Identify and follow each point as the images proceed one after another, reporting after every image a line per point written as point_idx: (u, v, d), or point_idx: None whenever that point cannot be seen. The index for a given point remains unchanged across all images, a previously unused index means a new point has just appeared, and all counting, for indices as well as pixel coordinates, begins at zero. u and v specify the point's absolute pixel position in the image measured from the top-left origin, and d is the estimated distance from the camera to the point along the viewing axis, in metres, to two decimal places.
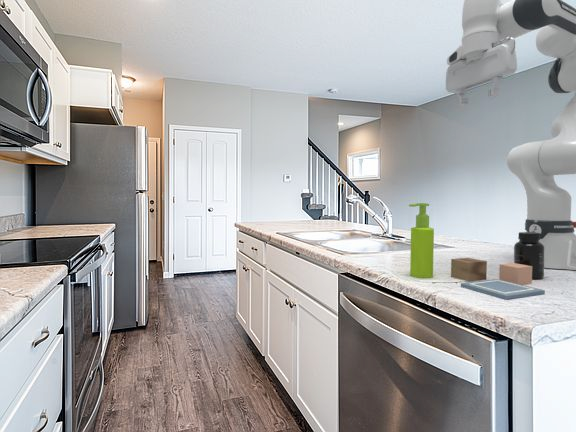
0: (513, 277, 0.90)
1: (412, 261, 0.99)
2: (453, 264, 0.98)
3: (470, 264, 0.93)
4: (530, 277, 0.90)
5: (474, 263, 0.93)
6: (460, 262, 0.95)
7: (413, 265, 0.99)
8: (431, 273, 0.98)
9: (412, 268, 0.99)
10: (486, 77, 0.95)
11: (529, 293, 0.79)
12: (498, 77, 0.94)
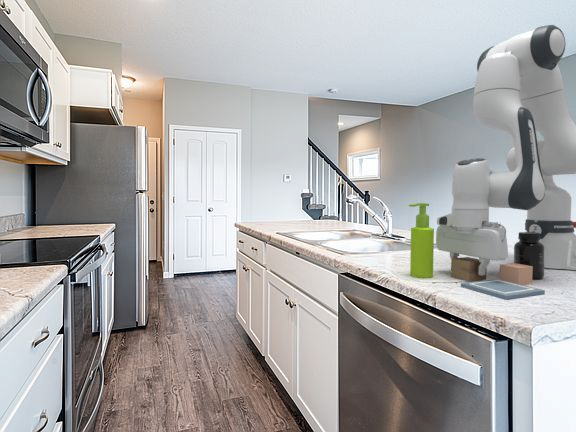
0: (514, 277, 0.90)
1: (412, 261, 0.99)
2: (453, 264, 0.98)
3: (470, 263, 0.93)
4: (530, 277, 0.90)
5: (474, 262, 0.93)
6: (460, 261, 0.95)
7: (413, 265, 0.99)
8: (431, 273, 0.98)
9: (412, 268, 0.99)
10: (476, 256, 0.92)
11: (529, 293, 0.79)
12: (485, 259, 0.91)
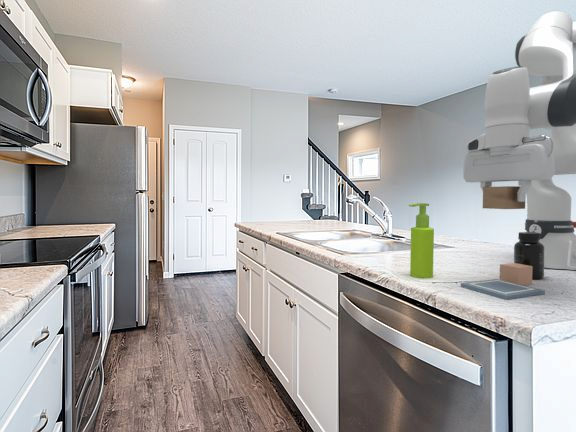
0: (514, 277, 0.90)
1: (412, 261, 0.99)
2: (485, 192, 0.84)
3: (507, 188, 0.80)
4: (530, 277, 0.90)
5: (512, 187, 0.80)
6: (494, 188, 0.82)
7: (413, 265, 0.99)
8: (431, 273, 0.98)
9: (412, 268, 0.99)
10: (515, 178, 0.79)
11: (529, 293, 0.79)
12: (526, 181, 0.78)
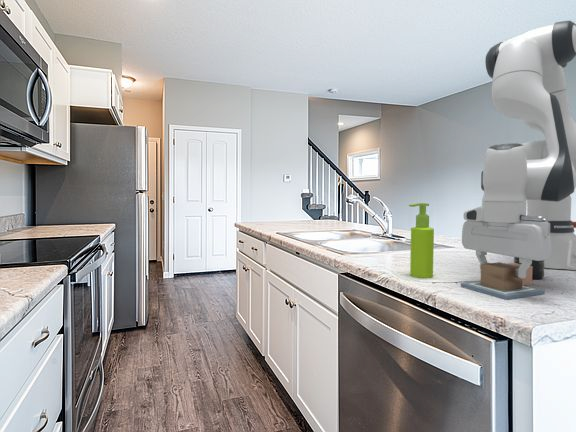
0: None
1: (412, 261, 0.99)
2: (483, 270, 0.85)
3: (505, 270, 0.81)
4: (530, 277, 0.90)
5: (509, 269, 0.81)
6: (492, 268, 0.83)
7: (413, 265, 0.99)
8: (431, 273, 0.98)
9: (412, 268, 0.99)
10: (513, 255, 0.80)
11: (529, 293, 0.79)
12: (527, 259, 0.78)
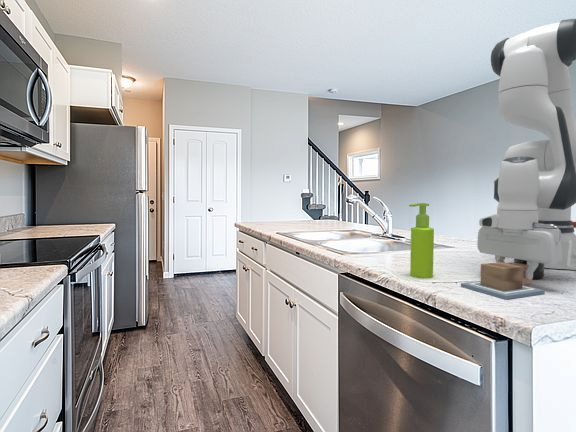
0: None
1: (412, 261, 0.99)
2: (483, 270, 0.85)
3: (505, 270, 0.81)
4: None
5: (509, 269, 0.81)
6: (492, 268, 0.83)
7: (413, 265, 0.99)
8: (431, 273, 0.98)
9: (412, 268, 0.99)
10: (526, 259, 0.87)
11: (529, 293, 0.79)
12: (534, 262, 0.87)
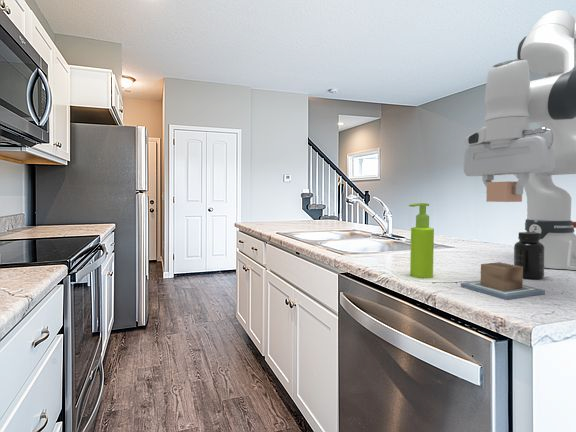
0: (502, 192, 0.81)
1: (412, 261, 0.99)
2: (483, 270, 0.85)
3: (505, 270, 0.81)
4: None
5: (509, 269, 0.81)
6: (492, 268, 0.83)
7: (413, 265, 0.99)
8: (431, 273, 0.98)
9: (412, 268, 0.99)
10: (516, 171, 0.79)
11: (529, 293, 0.79)
12: (524, 174, 0.78)
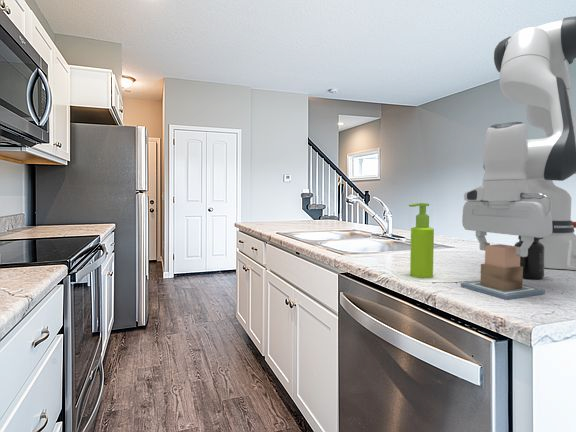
0: (500, 258, 0.82)
1: (412, 261, 0.99)
2: (483, 270, 0.85)
3: (505, 270, 0.81)
4: (518, 259, 0.83)
5: (509, 269, 0.81)
6: (492, 268, 0.83)
7: (413, 265, 0.99)
8: (431, 273, 0.98)
9: (412, 268, 0.99)
10: (513, 233, 0.79)
11: (529, 293, 0.79)
12: (529, 237, 0.78)
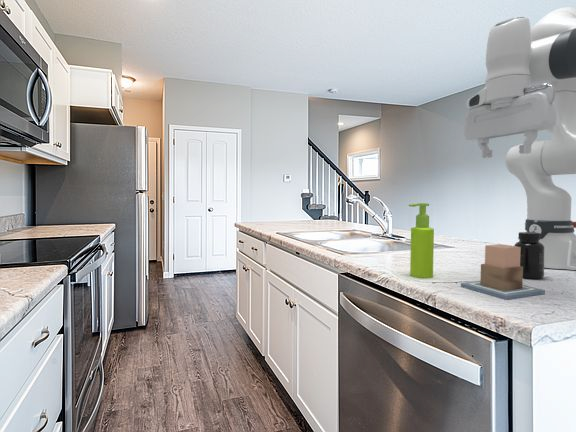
0: (500, 258, 0.82)
1: (412, 261, 0.99)
2: (483, 270, 0.85)
3: (505, 270, 0.81)
4: (518, 259, 0.83)
5: (509, 269, 0.81)
6: (492, 268, 0.83)
7: (413, 265, 0.99)
8: (431, 273, 0.98)
9: (412, 268, 0.99)
10: (517, 130, 0.78)
11: (529, 293, 0.79)
12: (532, 131, 0.76)
